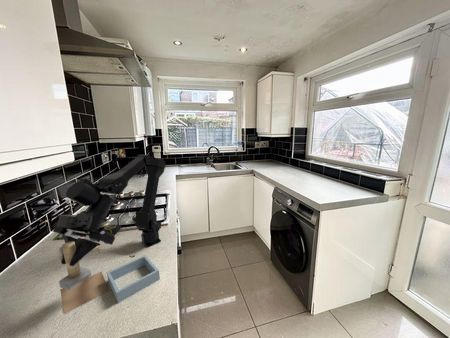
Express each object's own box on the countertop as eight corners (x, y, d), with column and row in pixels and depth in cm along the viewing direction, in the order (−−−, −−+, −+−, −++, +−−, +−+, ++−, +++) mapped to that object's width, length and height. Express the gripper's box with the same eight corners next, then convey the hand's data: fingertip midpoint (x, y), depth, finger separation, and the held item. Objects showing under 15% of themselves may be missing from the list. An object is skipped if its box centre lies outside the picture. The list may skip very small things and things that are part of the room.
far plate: (101, 274, 68) (101, 271, 68) (110, 293, 60) (109, 290, 60) (61, 292, 61) (60, 289, 61) (64, 317, 52) (63, 314, 52)
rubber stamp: (81, 272, 59) (74, 237, 57) (91, 274, 58) (84, 239, 56) (60, 287, 54) (51, 249, 52) (70, 290, 53) (61, 251, 50)
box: (146, 265, 72) (145, 255, 71) (160, 282, 64) (158, 270, 63) (108, 284, 64) (106, 272, 63) (118, 306, 55) (116, 293, 54)
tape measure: (122, 230, 100) (121, 223, 100) (114, 237, 94) (113, 229, 93) (109, 230, 100) (108, 223, 100) (100, 237, 94) (99, 230, 93)
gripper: (53, 199, 58) (14, 253, 50) (99, 204, 52) (64, 266, 44) (83, 212, 67) (54, 261, 59) (126, 218, 61) (100, 272, 53)
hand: (67, 264), depth 54 cm, fingers closed on rubber stamp, 3 cm apart
